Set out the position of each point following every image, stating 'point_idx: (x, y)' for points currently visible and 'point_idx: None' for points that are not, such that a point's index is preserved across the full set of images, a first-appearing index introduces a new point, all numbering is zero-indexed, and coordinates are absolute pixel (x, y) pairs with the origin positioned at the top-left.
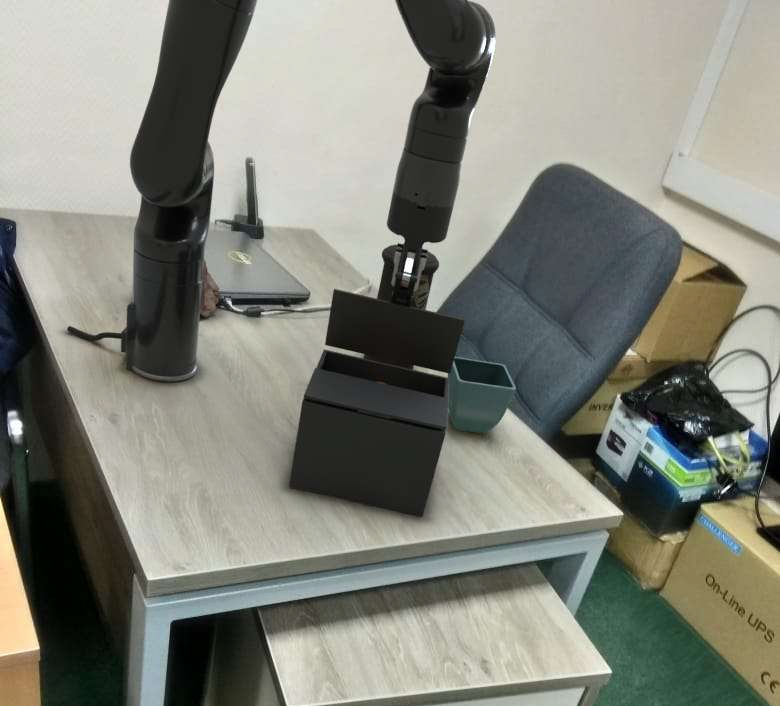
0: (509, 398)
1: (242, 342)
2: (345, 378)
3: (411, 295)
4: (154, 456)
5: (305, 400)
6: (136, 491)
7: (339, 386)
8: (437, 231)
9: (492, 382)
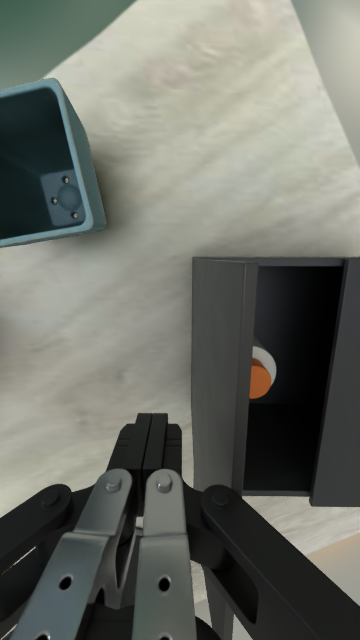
0: (70, 103)
1: (16, 504)
2: (335, 459)
3: (304, 558)
4: (307, 517)
5: None
6: None
7: None
8: None
9: None
